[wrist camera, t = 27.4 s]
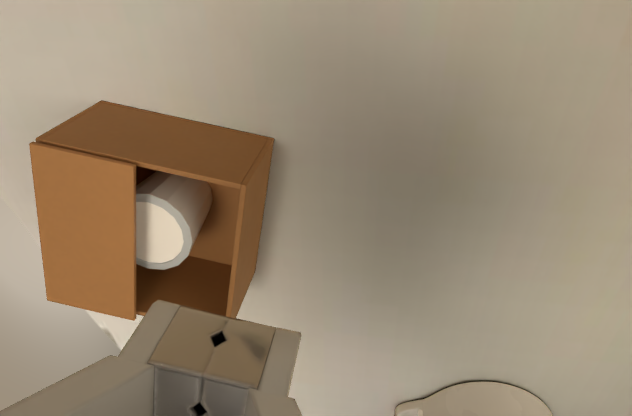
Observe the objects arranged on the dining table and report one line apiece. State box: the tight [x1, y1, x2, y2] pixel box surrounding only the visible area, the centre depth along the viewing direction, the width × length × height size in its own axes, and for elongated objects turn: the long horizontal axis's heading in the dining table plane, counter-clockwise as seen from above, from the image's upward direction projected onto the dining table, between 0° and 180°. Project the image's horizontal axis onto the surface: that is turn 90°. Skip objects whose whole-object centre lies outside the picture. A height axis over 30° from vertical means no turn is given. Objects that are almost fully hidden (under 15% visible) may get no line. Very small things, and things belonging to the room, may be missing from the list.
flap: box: [29, 142, 136, 321], centre depth 37 cm, size 14×7×1 cm, turn 170°
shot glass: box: [136, 171, 213, 270], centre depth 42 cm, size 7×7×7 cm
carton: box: [36, 101, 274, 318], centre depth 42 cm, size 14×15×9 cm
